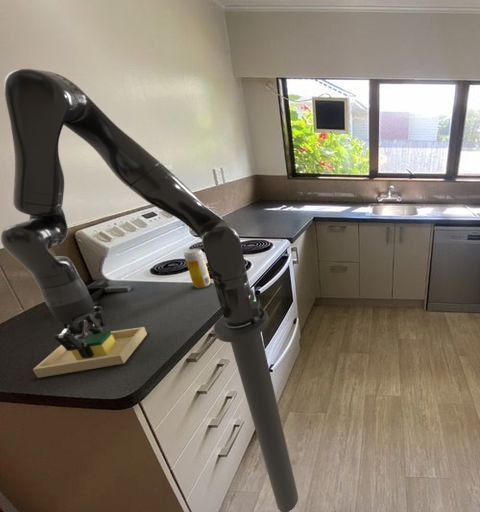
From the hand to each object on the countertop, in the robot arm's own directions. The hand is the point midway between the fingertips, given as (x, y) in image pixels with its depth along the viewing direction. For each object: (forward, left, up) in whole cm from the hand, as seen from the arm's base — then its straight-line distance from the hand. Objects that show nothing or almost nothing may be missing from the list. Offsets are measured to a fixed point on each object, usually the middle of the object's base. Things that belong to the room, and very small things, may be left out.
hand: (95, 349), depth 79 cm
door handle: (+19, -37, -2) cm, 42 cm away
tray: (0, 0, -1) cm, 1 cm away
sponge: (0, 0, -1) cm, 1 cm away
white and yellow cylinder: (-16, -37, -2) cm, 40 cm away
